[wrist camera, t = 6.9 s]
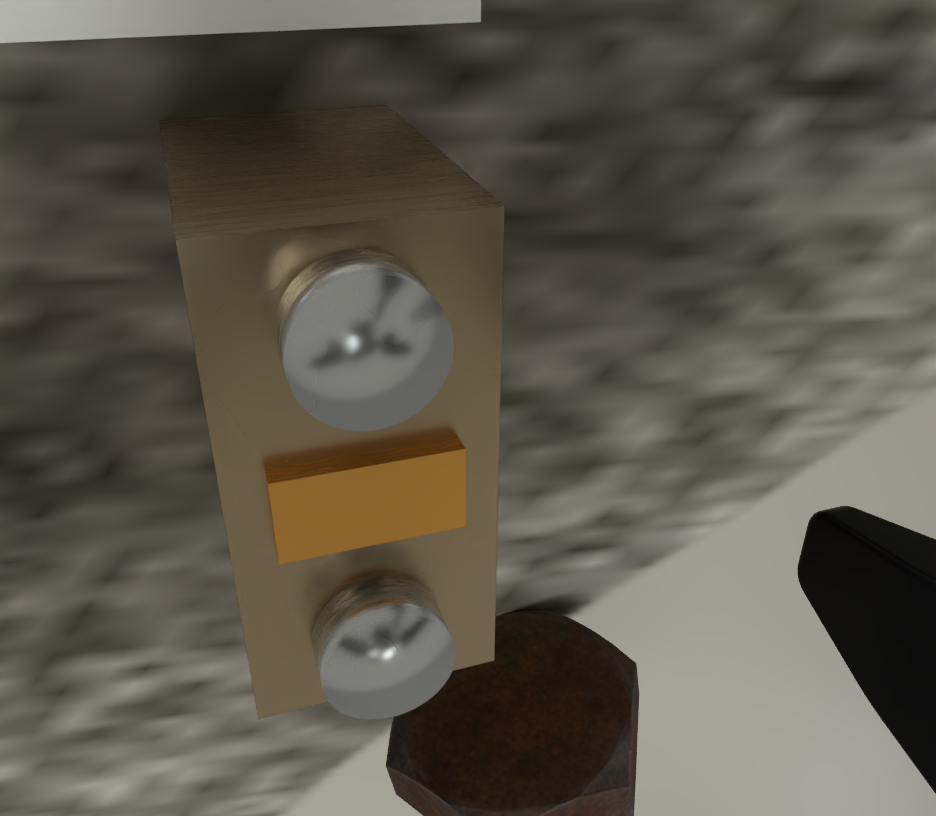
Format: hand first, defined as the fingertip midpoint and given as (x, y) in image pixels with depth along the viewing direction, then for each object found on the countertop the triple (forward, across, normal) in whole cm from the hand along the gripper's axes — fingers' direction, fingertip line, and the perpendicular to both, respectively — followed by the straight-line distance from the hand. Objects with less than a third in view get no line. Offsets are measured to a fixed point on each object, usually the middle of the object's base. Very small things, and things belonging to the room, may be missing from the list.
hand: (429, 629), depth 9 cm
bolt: (+8, -4, +16) cm, 18 cm away
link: (+8, 0, 0) cm, 8 cm away
